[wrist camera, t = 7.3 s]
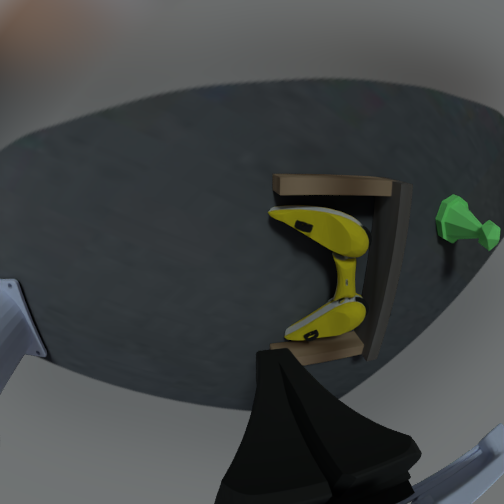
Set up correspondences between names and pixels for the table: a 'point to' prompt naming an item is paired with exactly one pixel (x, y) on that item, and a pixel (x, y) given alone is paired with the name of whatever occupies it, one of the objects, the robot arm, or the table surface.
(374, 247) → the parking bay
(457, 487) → the robot arm
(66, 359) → the table surface
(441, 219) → the game piece
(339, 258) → the yellow plastic handheld tool
